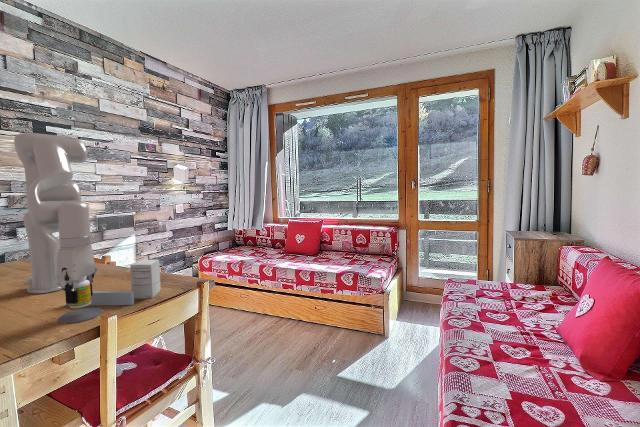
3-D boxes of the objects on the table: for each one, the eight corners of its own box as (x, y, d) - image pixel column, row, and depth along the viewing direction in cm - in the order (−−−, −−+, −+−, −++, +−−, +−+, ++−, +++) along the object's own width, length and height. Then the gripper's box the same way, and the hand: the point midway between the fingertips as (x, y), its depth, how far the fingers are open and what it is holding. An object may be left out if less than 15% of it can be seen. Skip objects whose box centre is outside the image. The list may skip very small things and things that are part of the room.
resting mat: (48, 323, 90) (48, 322, 90) (76, 308, 101) (76, 307, 101) (86, 323, 91) (86, 322, 91) (110, 308, 102) (110, 307, 102)
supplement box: (141, 291, 118) (139, 259, 117) (161, 291, 118) (160, 259, 117) (131, 298, 110) (129, 264, 109) (152, 298, 111) (151, 264, 110)
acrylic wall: (66, 305, 104) (65, 293, 104) (69, 304, 105) (68, 291, 105) (132, 304, 105) (131, 292, 104) (134, 303, 106) (133, 291, 106)
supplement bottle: (79, 309, 93) (77, 277, 92) (64, 307, 94) (62, 276, 93) (95, 302, 98) (93, 272, 97) (81, 301, 99) (79, 271, 98)
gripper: (83, 237, 102) (87, 290, 104) (38, 248, 85) (43, 310, 87) (106, 237, 103) (110, 290, 104) (66, 248, 86) (71, 310, 87)
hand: (79, 299), depth 96 cm, fingers closed on supplement bottle, 5 cm apart
